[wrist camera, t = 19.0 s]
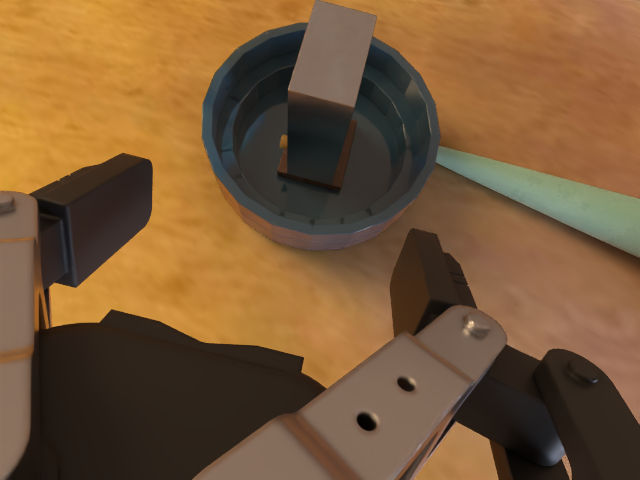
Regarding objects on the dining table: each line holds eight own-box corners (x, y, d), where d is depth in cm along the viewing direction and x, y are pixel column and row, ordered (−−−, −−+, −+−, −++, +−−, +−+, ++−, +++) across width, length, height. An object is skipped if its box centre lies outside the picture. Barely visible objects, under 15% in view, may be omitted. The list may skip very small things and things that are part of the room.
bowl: (369, 48, 35) (382, 1, 30) (449, 212, 31) (479, 187, 26) (188, 98, 32) (171, 54, 27) (254, 283, 28) (248, 271, 24)
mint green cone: (463, 87, 28) (818, 233, 27) (435, 128, 33) (731, 251, 33) (441, 148, 27) (815, 304, 26) (415, 181, 32) (725, 311, 31)
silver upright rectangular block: (339, 192, 30) (369, 110, 20) (277, 175, 30) (273, 85, 20) (355, 125, 32) (390, 18, 21) (296, 110, 32) (302, -5, 21)
